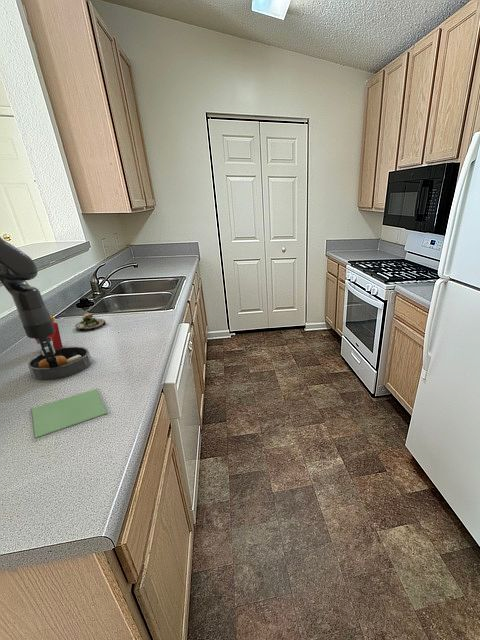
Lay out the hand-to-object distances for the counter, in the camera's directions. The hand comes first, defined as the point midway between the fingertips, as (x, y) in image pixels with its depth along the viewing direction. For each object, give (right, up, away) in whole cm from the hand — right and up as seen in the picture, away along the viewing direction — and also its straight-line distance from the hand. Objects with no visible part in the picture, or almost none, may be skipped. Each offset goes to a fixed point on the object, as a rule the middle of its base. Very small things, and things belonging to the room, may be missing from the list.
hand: (55, 368), depth 113 cm
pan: (+2, 0, +2) cm, 2 cm away
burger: (-11, +18, +37) cm, 43 cm away
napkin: (+20, -11, -22) cm, 32 cm away
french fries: (-13, +6, +15) cm, 21 cm away
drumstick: (+1, +1, +1) cm, 2 cm away
